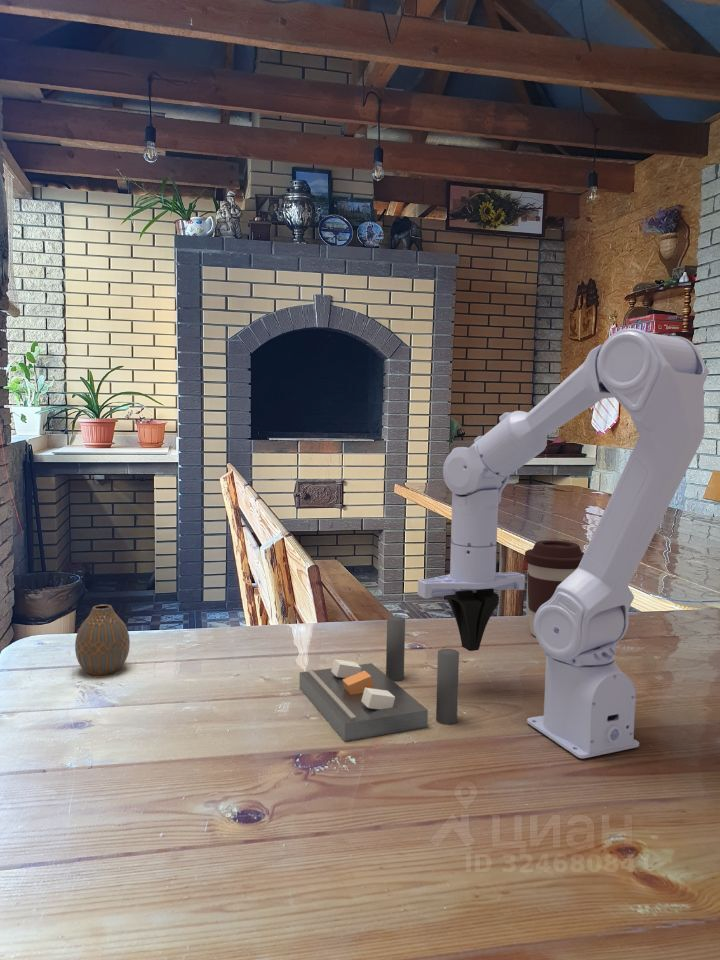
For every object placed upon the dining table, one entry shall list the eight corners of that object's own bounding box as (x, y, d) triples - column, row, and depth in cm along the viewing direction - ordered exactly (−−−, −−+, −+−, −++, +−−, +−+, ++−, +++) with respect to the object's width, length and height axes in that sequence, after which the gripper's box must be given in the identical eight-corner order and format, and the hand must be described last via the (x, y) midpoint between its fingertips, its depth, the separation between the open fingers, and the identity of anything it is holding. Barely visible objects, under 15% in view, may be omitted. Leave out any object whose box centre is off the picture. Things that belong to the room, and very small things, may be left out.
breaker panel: (427, 727, 79) (428, 707, 79) (344, 741, 76) (344, 720, 75) (371, 677, 94) (371, 660, 94) (299, 687, 90) (299, 670, 90)
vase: (138, 662, 98) (137, 601, 98) (116, 681, 92) (115, 614, 91) (90, 660, 99) (89, 598, 98) (65, 678, 92) (64, 612, 91)
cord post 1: (406, 679, 94) (408, 620, 93) (390, 681, 93) (391, 622, 92) (399, 673, 96) (400, 615, 95) (382, 675, 95) (384, 617, 94)
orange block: (374, 688, 84) (371, 676, 84) (351, 697, 83) (348, 685, 83) (367, 682, 86) (364, 670, 86) (345, 691, 85) (342, 679, 85)
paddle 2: (391, 710, 80) (395, 697, 80) (368, 708, 78) (371, 694, 79) (384, 704, 82) (387, 690, 82) (361, 701, 80) (364, 687, 80)
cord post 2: (460, 722, 81) (462, 654, 80) (442, 725, 80) (444, 656, 79) (450, 714, 83) (452, 647, 82) (432, 717, 82) (434, 650, 81)
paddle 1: (358, 679, 89) (361, 667, 89) (336, 676, 88) (339, 664, 88) (352, 674, 91) (355, 662, 91) (331, 671, 90) (334, 659, 90)
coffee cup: (593, 646, 109) (598, 550, 107) (529, 644, 109) (532, 548, 108) (575, 626, 119) (579, 538, 117) (516, 625, 119) (519, 537, 117)
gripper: (504, 535, 95) (501, 633, 97) (407, 540, 90) (405, 644, 91) (536, 544, 89) (532, 649, 90) (434, 550, 83) (431, 662, 85)
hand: (470, 648), depth 90 cm, fingers closed
